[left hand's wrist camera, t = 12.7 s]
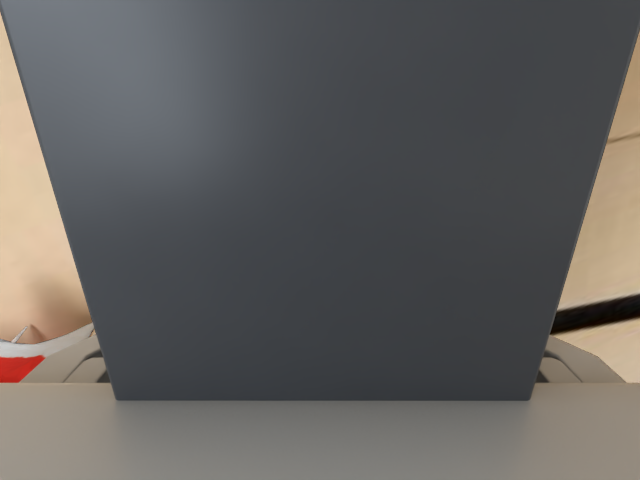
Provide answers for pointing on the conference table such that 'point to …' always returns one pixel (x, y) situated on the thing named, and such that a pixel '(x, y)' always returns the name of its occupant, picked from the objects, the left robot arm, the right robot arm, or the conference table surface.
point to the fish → (33, 353)
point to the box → (322, 185)
